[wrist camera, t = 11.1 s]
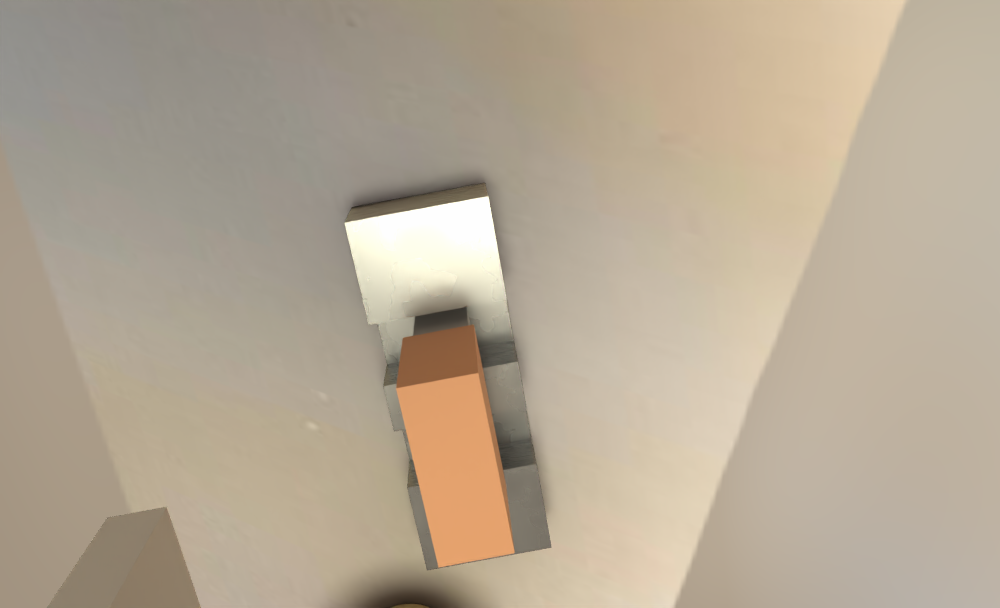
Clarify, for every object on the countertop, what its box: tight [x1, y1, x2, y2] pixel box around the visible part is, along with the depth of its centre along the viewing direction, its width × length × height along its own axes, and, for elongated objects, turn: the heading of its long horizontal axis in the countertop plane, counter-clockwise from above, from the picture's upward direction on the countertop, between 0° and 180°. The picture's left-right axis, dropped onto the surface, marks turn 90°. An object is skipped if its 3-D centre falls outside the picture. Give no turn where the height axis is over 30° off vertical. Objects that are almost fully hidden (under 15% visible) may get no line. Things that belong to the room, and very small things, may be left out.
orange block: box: [396, 307, 515, 567], centre depth 43 cm, size 9×4×10 cm, turn 10°
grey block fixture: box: [345, 183, 551, 570], centre depth 46 cm, size 20×7×4 cm, turn 10°
